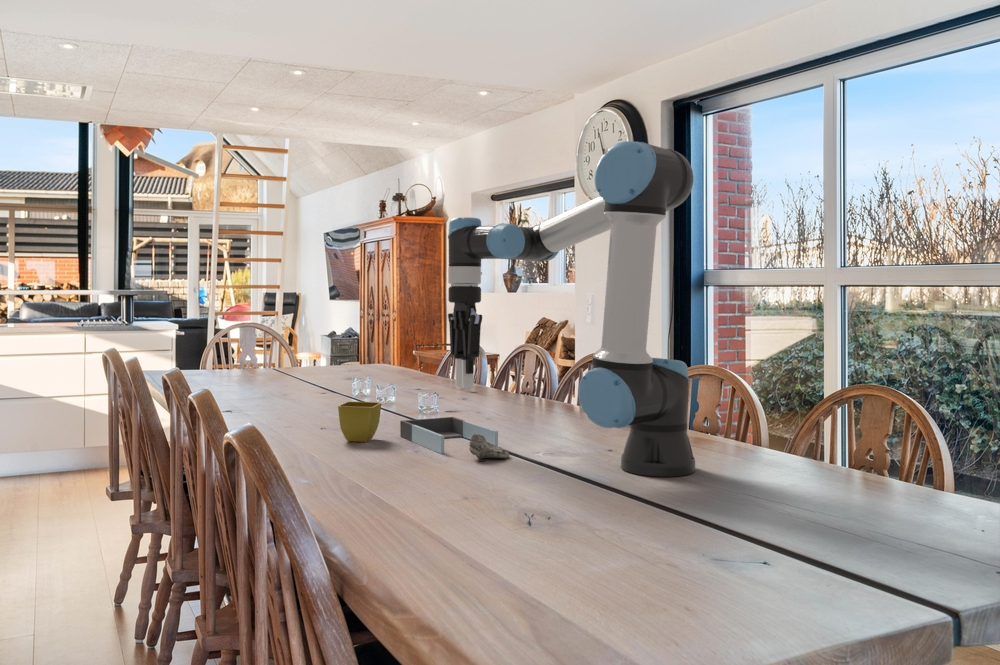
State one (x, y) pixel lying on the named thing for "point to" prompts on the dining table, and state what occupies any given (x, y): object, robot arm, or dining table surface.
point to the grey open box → (434, 427)
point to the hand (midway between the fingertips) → (464, 386)
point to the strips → (437, 440)
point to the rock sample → (485, 448)
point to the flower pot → (359, 420)
